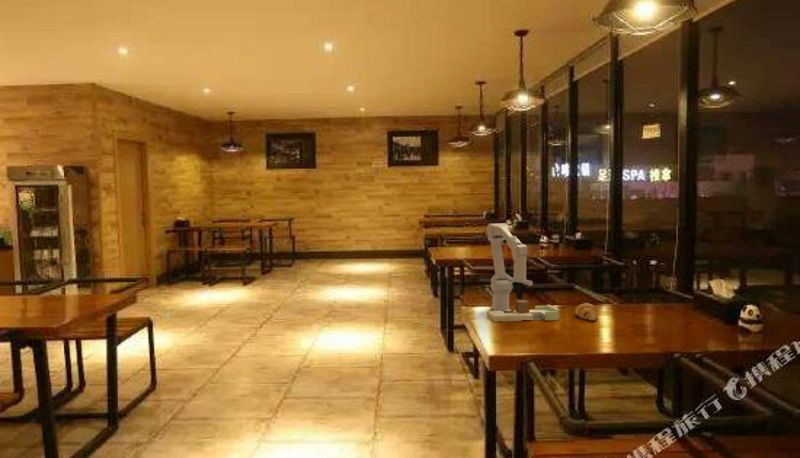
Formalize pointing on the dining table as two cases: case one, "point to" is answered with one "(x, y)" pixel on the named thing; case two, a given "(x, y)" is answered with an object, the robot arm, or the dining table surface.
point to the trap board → (526, 314)
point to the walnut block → (522, 306)
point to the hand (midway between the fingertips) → (519, 298)
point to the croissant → (586, 311)
